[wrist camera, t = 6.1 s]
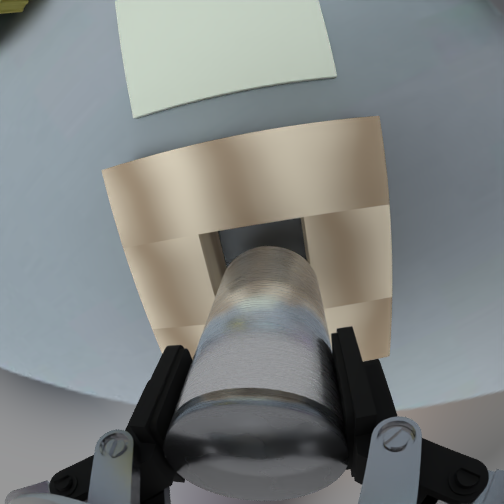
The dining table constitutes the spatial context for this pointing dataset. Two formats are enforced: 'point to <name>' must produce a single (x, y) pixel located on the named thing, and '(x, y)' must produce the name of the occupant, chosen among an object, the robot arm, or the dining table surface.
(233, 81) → the mat
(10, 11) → the plastic component
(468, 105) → the dining table surface
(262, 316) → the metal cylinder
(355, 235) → the bore block
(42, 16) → the dining table surface
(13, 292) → the dining table surface
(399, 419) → the robot arm
